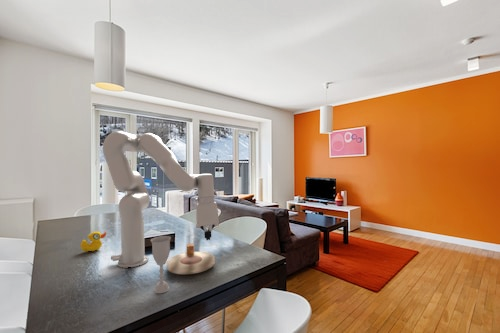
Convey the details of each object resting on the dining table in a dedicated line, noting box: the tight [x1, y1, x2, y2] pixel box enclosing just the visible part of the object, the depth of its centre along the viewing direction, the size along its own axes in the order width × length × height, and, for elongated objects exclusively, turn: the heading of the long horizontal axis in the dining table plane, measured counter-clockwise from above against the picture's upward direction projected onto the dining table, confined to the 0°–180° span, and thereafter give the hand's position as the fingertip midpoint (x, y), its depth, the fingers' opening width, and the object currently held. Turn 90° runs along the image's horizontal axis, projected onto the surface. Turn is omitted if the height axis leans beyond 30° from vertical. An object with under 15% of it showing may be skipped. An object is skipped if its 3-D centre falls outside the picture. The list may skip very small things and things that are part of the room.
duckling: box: [80, 231, 107, 253], centre depth 126 cm, size 11×5×10 cm, turn 126°
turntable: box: [166, 242, 216, 275], centre depth 103 cm, size 20×20×6 cm
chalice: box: [150, 235, 172, 294], centre depth 85 cm, size 7×7×18 cm
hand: (208, 239), depth 112 cm, fingers closed
